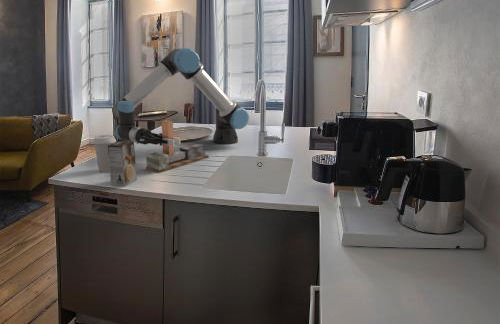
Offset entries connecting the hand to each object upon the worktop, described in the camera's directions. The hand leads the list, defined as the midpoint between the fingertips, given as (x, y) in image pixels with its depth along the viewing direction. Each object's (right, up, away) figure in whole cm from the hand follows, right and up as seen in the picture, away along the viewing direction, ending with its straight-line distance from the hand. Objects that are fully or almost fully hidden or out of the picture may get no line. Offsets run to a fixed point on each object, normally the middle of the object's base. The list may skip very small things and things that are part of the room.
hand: (176, 142), depth 167 cm
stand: (-1, -9, +11) cm, 15 cm away
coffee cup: (-30, -13, -2) cm, 33 cm away
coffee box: (-18, -17, -18) cm, 30 cm away
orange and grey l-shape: (-3, -8, +8) cm, 12 cm away
